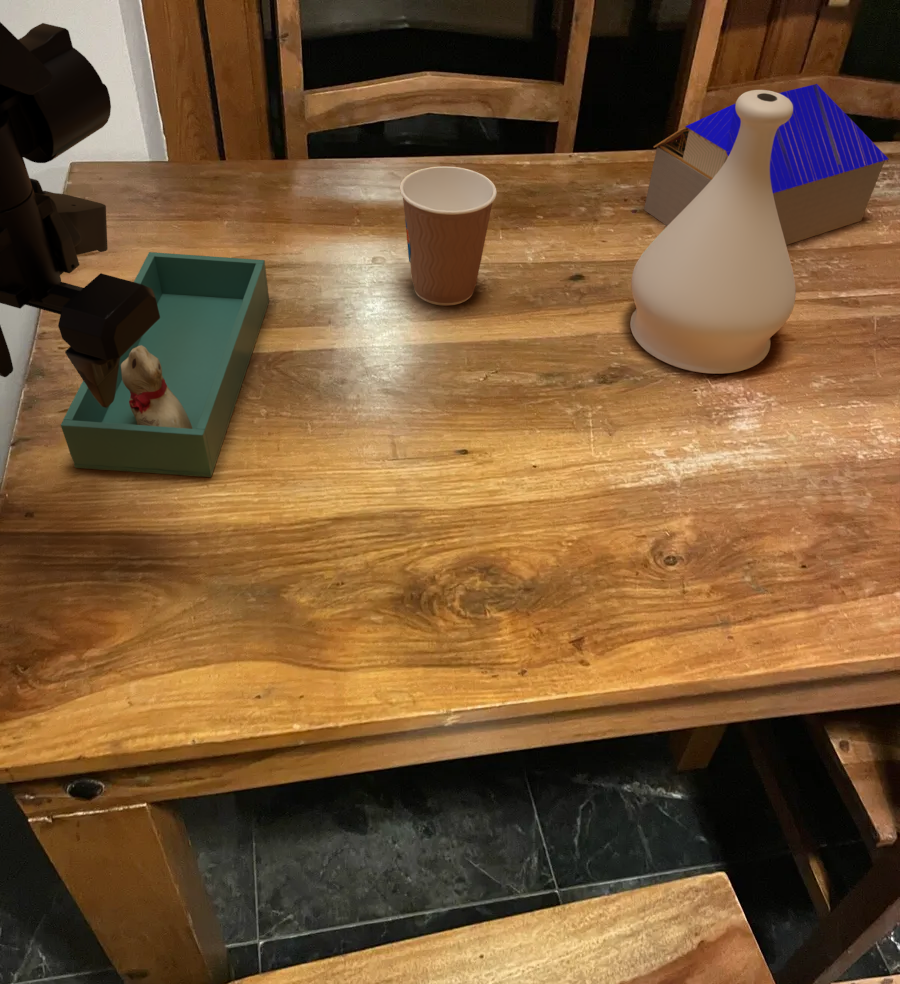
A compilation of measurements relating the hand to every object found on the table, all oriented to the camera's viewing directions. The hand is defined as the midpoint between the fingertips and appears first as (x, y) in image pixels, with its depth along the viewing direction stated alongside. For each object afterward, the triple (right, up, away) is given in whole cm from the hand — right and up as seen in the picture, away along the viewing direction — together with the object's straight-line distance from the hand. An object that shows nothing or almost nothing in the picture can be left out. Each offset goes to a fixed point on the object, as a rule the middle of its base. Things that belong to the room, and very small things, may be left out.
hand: (57, 388), depth 72 cm
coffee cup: (+30, +19, +36) cm, 51 cm away
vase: (+58, +14, +33) cm, 68 cm away
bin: (+3, +7, +23) cm, 24 cm away
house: (+70, +34, +51) cm, 94 cm away
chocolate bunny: (+3, -1, +17) cm, 17 cm away
